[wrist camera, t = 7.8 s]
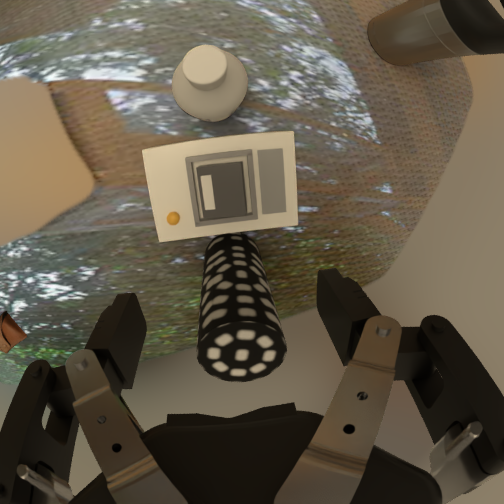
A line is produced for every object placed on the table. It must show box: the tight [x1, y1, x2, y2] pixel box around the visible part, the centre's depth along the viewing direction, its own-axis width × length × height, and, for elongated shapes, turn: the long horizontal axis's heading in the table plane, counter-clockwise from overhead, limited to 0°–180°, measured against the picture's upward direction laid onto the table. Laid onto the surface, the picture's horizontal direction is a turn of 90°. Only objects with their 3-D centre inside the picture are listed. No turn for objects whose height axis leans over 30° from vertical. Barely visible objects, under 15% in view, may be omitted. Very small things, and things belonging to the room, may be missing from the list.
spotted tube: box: [197, 232, 287, 382], centre depth 33 cm, size 8×8×20 cm
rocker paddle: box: [196, 161, 247, 218], centre depth 31 cm, size 5×6×2 cm
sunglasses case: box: [0, 311, 27, 353], centre depth 44 cm, size 18×7×7 cm
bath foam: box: [172, 45, 248, 122], centre depth 23 cm, size 7×7×20 cm
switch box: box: [142, 131, 298, 242], centre depth 34 cm, size 18×12×6 cm, turn 95°
